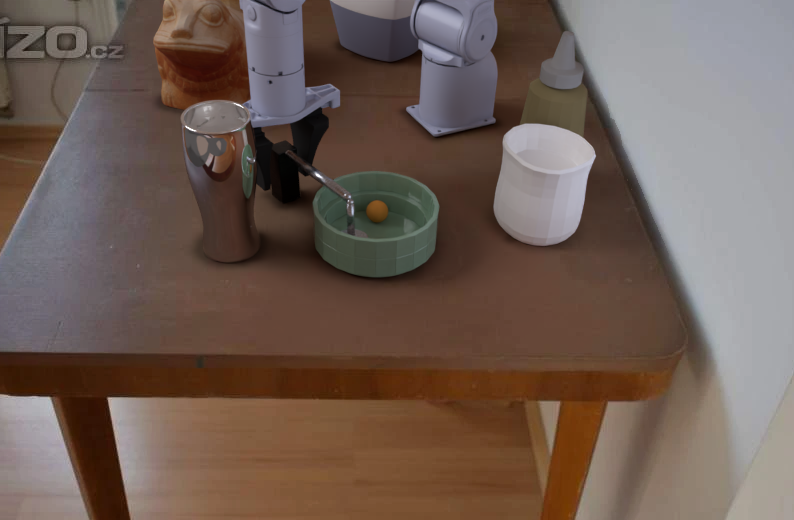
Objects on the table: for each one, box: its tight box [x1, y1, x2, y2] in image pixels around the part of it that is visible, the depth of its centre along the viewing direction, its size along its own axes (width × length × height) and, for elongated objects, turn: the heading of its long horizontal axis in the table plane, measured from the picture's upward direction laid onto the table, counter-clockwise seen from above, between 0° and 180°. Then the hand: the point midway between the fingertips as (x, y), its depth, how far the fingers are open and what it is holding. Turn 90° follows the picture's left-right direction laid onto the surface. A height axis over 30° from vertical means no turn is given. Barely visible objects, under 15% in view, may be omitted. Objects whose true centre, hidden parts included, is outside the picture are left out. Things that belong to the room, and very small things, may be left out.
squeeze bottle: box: [519, 30, 589, 138], centre depth 95 cm, size 8×8×18 cm
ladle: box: [270, 139, 368, 238], centre depth 90 cm, size 16×4×6 cm, turn 38°
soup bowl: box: [312, 170, 440, 278], centre depth 88 cm, size 13×13×5 cm
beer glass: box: [180, 100, 261, 264], centre depth 84 cm, size 7×7×15 cm
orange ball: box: [366, 200, 388, 223], centre depth 91 cm, size 2×2×2 cm
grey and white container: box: [329, 0, 420, 63], centre depth 124 cm, size 15×15×11 cm
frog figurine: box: [152, 0, 251, 111], centre depth 111 cm, size 14×26×15 cm, turn 171°
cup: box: [492, 124, 597, 247], centre depth 91 cm, size 10×10×10 cm
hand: (283, 179), depth 95 cm, fingers open, 5 cm apart
